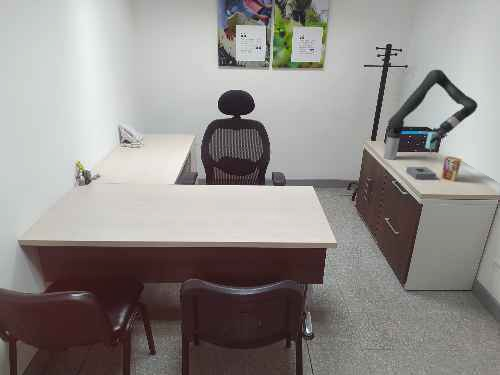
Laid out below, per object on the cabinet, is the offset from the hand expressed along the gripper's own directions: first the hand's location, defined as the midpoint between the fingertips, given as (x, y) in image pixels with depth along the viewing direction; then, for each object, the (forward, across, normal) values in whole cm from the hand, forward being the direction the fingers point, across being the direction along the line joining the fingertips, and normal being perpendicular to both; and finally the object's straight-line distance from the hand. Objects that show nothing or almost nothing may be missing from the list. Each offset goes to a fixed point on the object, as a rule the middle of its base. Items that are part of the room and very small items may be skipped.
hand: (428, 141), depth 247 cm
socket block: (+19, +3, +15) cm, 24 cm away
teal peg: (+2, 0, +5) cm, 5 cm away
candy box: (+7, +9, +27) cm, 30 cm away
